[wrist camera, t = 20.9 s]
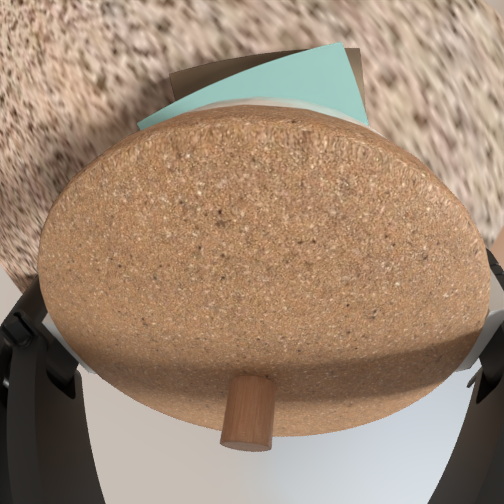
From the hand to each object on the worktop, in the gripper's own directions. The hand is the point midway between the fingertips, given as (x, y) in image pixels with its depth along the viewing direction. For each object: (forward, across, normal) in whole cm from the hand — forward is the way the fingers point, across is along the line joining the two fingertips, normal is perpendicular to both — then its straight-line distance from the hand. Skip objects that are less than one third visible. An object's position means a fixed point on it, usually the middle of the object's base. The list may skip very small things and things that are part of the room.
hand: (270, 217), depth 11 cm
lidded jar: (+1, 0, 0) cm, 1 cm away
